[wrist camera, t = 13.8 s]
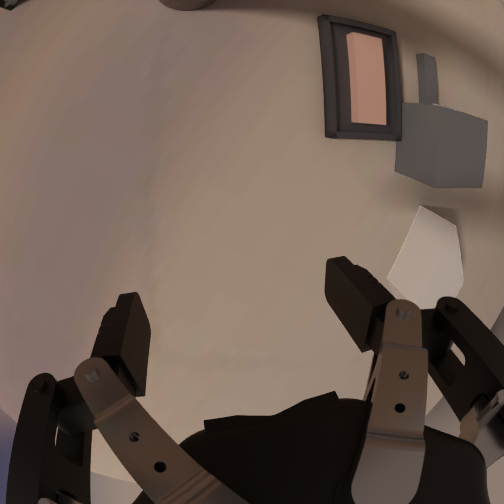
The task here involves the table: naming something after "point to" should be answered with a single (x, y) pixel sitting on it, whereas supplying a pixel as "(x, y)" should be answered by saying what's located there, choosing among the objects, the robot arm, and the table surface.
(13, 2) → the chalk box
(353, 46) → the pink block
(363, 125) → the tray
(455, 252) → the white angular block
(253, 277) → the table surface
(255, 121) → the table surface
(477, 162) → the dispenser
